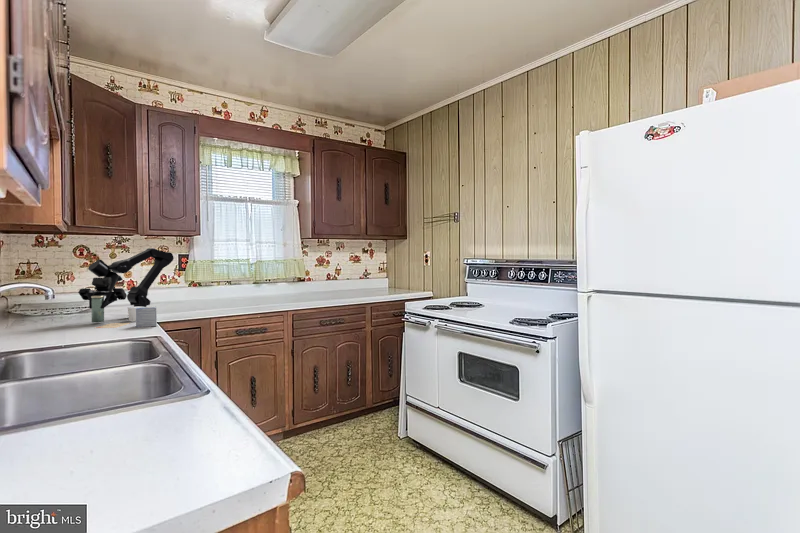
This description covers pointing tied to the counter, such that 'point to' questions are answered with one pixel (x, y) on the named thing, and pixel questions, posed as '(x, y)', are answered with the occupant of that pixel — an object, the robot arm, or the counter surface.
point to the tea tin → (97, 308)
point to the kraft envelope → (113, 325)
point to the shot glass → (132, 313)
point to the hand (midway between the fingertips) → (96, 308)
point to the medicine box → (146, 316)
